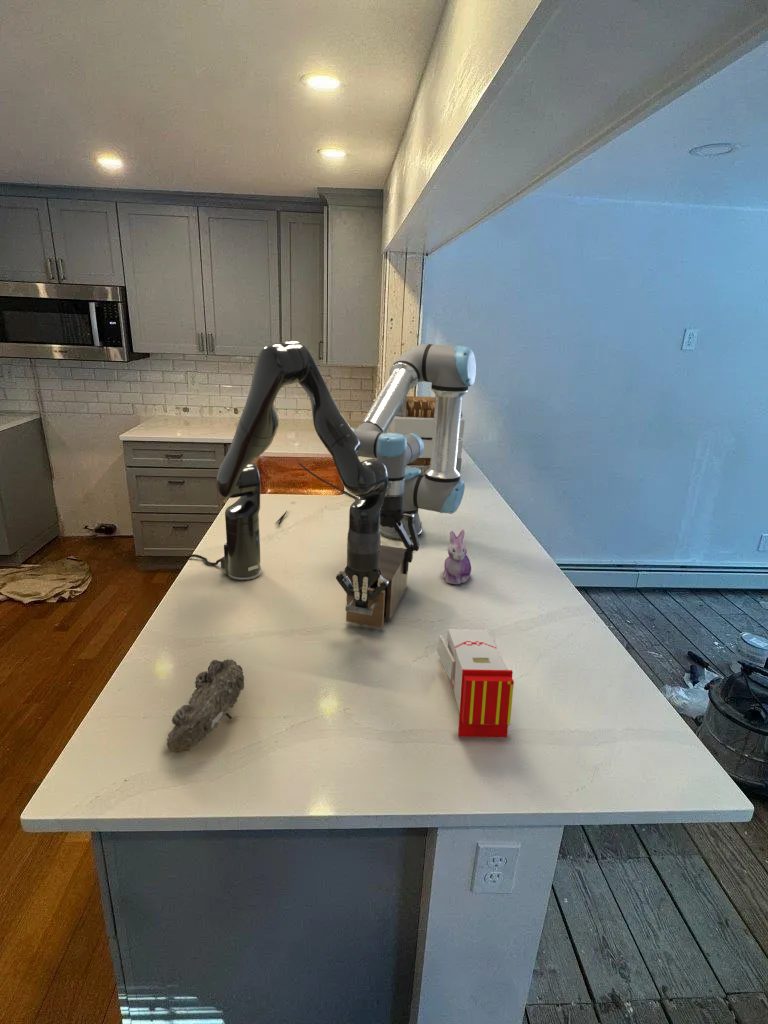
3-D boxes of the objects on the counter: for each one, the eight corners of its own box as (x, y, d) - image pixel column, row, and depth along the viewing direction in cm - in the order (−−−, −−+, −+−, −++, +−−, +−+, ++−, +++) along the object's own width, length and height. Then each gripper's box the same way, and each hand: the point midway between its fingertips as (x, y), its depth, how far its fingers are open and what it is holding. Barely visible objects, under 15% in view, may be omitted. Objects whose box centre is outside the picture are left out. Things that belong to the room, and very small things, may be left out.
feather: (294, 505, 227) (296, 501, 226) (277, 528, 200) (280, 524, 199) (290, 503, 226) (292, 499, 226) (273, 526, 200) (276, 521, 199)
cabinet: (389, 621, 144) (391, 580, 140) (350, 614, 146) (351, 573, 142) (406, 586, 162) (409, 549, 158) (371, 581, 164) (373, 543, 160)
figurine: (453, 588, 162) (457, 540, 157) (434, 573, 170) (437, 527, 165) (479, 582, 166) (485, 535, 161) (459, 568, 175) (464, 523, 170)
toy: (488, 613, 130) (523, 677, 101) (484, 667, 133) (517, 744, 104) (435, 612, 130) (455, 676, 101) (432, 666, 133) (451, 743, 103)
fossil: (192, 660, 117) (244, 628, 112) (224, 691, 120) (276, 661, 115) (142, 746, 98) (202, 712, 93) (182, 779, 101) (242, 748, 96)
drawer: (376, 640, 134) (377, 603, 130) (338, 633, 136) (339, 597, 132) (399, 593, 156) (401, 561, 153) (367, 588, 158) (368, 556, 155)
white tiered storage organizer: (382, 463, 289) (386, 382, 275) (445, 464, 293) (451, 384, 279) (390, 482, 257) (394, 392, 243) (460, 483, 261) (468, 394, 247)
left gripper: (330, 548, 127) (329, 615, 133) (387, 557, 124) (384, 625, 130) (341, 535, 134) (340, 600, 140) (395, 543, 131) (391, 609, 137)
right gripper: (343, 491, 148) (342, 568, 156) (430, 502, 143) (424, 581, 151) (352, 484, 155) (350, 557, 163) (435, 494, 150) (429, 569, 157)
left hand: (361, 612), depth 135 cm, fingers closed
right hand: (385, 569), depth 157 cm, fingers closed on cabinet, 10 cm apart
